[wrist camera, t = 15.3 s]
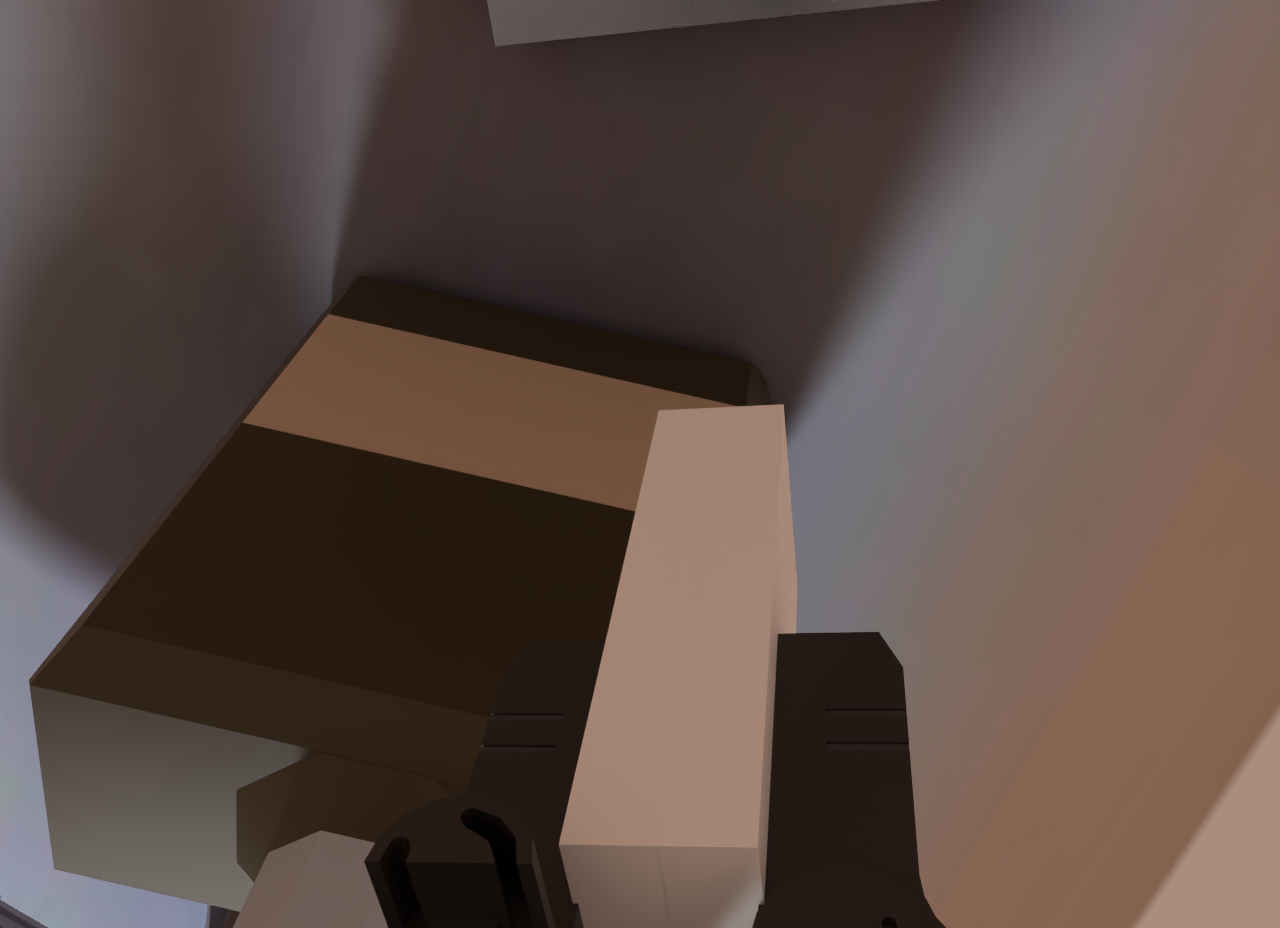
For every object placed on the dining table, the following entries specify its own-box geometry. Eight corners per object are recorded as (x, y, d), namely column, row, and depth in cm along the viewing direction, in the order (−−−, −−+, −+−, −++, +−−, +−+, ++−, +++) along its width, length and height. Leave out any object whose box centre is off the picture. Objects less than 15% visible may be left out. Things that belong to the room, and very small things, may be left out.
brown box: (737, 542, 45) (663, 1270, 25) (322, 448, 46) (-105, 1092, 25) (791, 358, 41) (754, 1052, 20) (330, 254, 41) (-178, 838, 20)
